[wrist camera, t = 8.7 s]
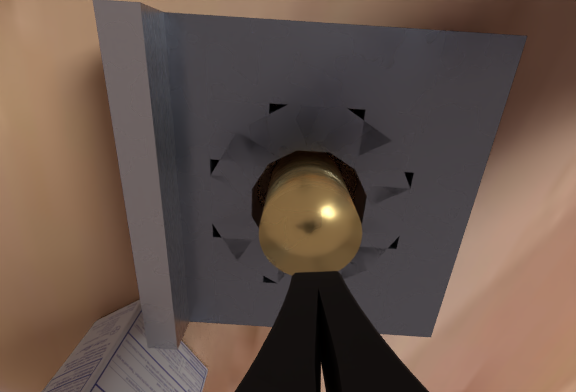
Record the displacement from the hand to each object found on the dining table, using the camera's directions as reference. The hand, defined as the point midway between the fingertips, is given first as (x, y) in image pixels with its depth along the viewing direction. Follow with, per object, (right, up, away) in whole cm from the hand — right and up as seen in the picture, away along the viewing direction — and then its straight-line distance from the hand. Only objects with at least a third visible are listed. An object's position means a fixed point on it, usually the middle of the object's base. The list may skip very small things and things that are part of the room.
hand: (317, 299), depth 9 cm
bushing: (0, +4, +8) cm, 9 cm away
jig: (0, +3, +8) cm, 9 cm away
